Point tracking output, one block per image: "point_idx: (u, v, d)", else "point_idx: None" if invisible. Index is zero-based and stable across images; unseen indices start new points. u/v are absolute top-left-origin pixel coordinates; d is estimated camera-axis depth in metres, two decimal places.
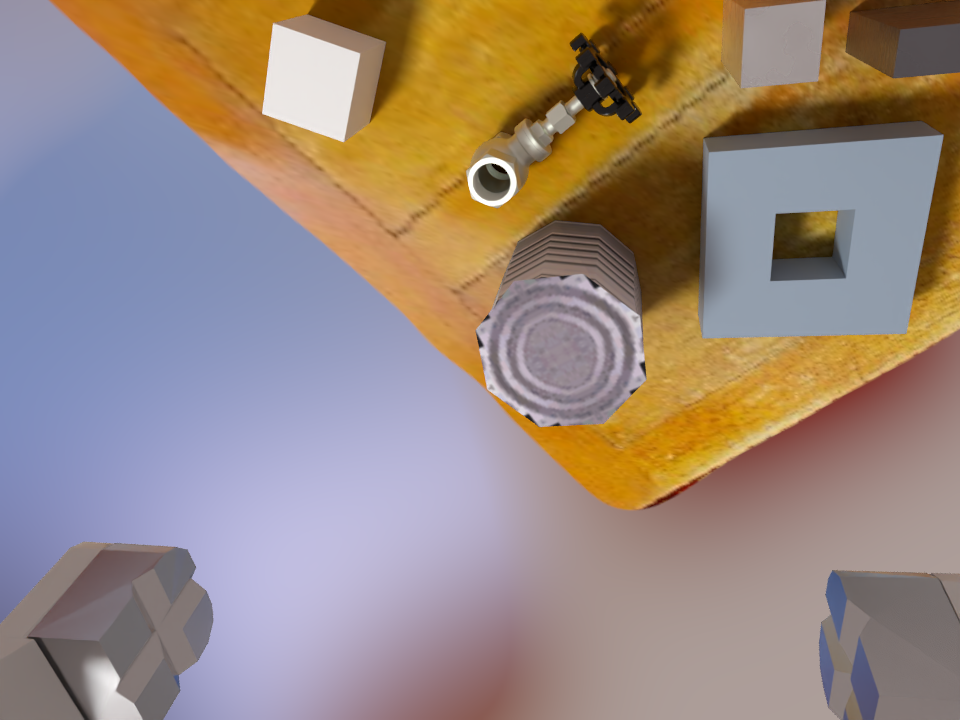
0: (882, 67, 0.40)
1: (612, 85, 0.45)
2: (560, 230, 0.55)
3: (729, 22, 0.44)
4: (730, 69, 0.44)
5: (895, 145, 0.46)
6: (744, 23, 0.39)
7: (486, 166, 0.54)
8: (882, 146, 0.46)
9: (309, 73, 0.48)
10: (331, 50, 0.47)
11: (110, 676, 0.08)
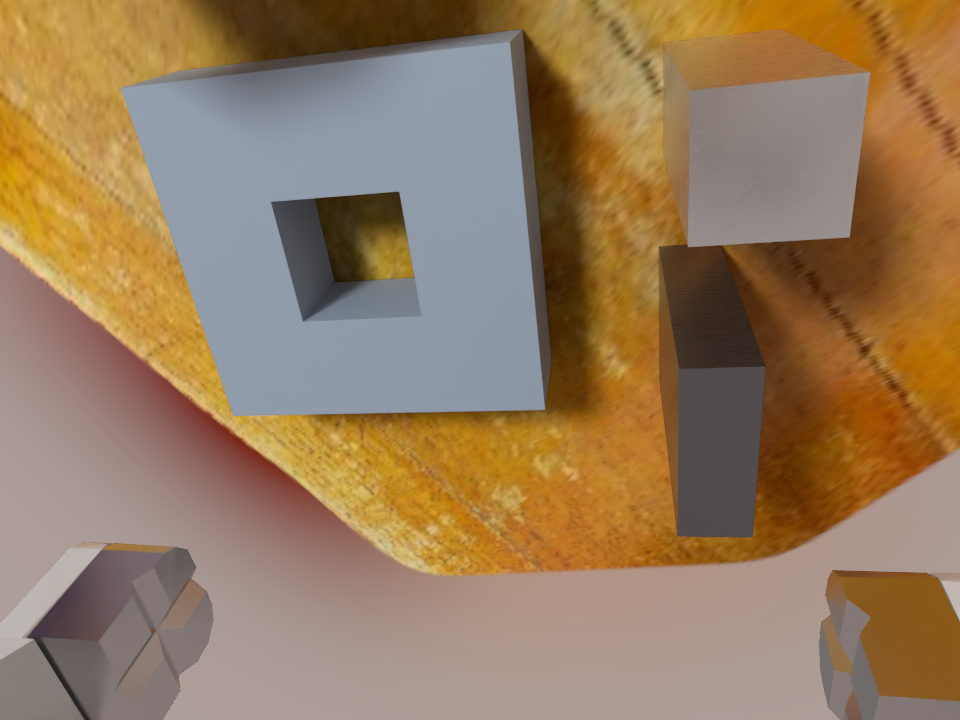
0: (681, 336, 0.23)
1: None
2: None
3: (762, 45, 0.22)
4: (683, 61, 0.22)
5: (529, 353, 0.29)
6: (836, 76, 0.17)
7: None
8: (525, 337, 0.28)
9: None
10: None
11: (110, 676, 0.08)
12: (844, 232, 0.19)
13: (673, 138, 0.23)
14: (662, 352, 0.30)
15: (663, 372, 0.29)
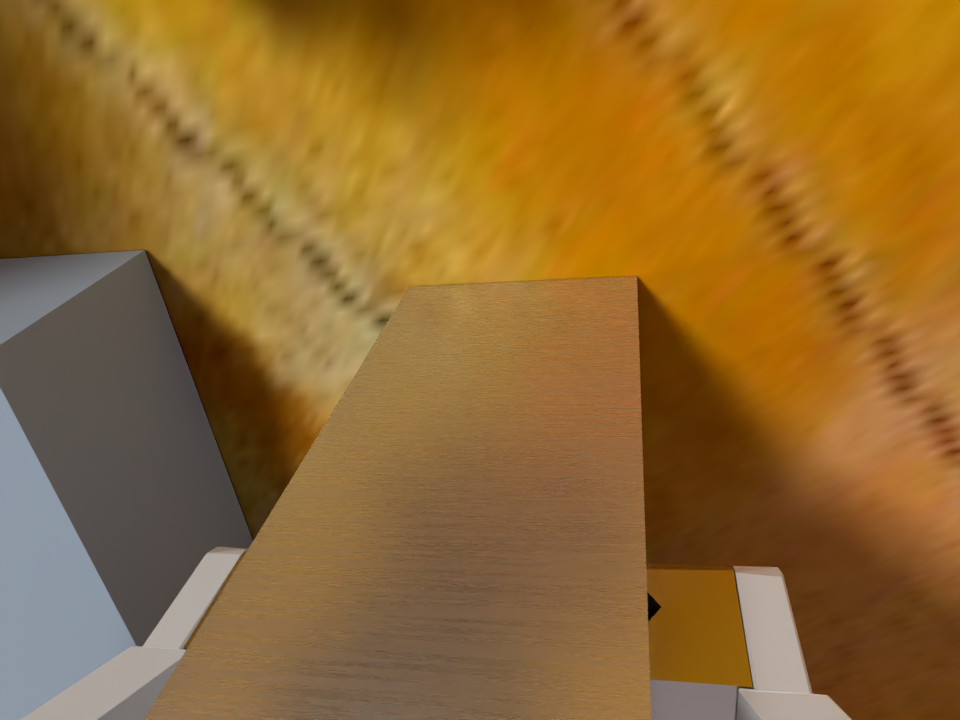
0: None
1: None
2: None
3: (540, 393, 0.09)
4: (318, 466, 0.09)
5: None
6: None
7: None
8: None
9: None
10: None
11: None
12: None
13: None
14: None
15: None
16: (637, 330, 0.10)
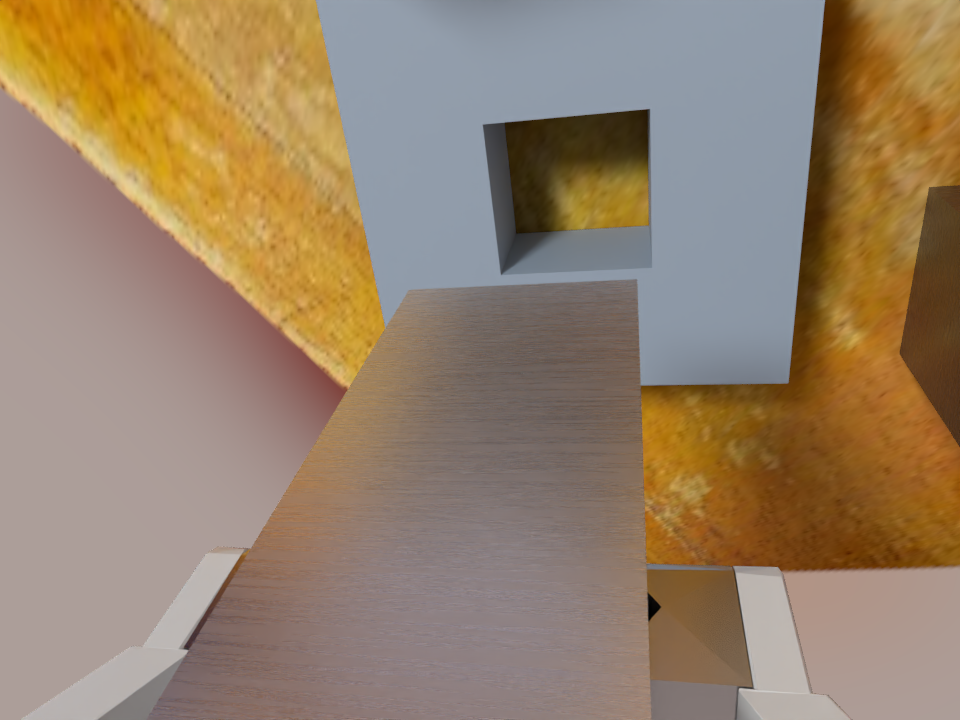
0: None
1: None
2: None
3: (540, 397, 0.09)
4: (318, 470, 0.09)
5: (781, 313, 0.24)
6: None
7: None
8: (781, 293, 0.23)
9: None
10: None
11: None
12: None
13: None
14: (932, 315, 0.25)
15: (936, 339, 0.24)
16: (637, 333, 0.10)
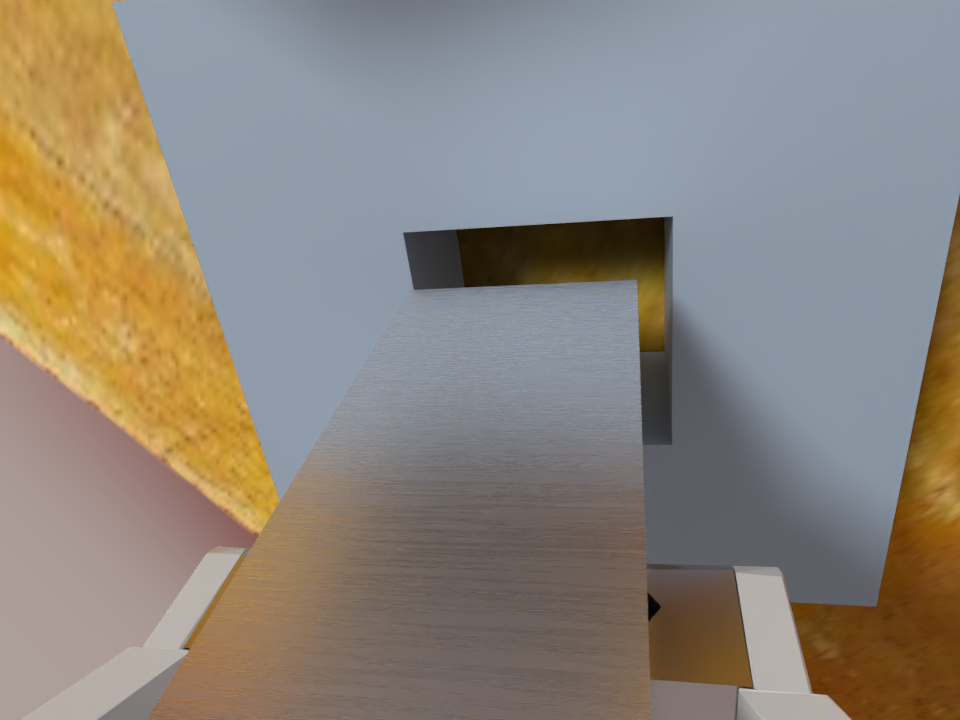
0: None
1: None
2: None
3: (540, 397, 0.09)
4: (318, 471, 0.09)
5: (872, 516, 0.15)
6: None
7: None
8: (874, 489, 0.15)
9: None
10: None
11: None
12: None
13: None
14: None
15: None
16: (637, 334, 0.10)
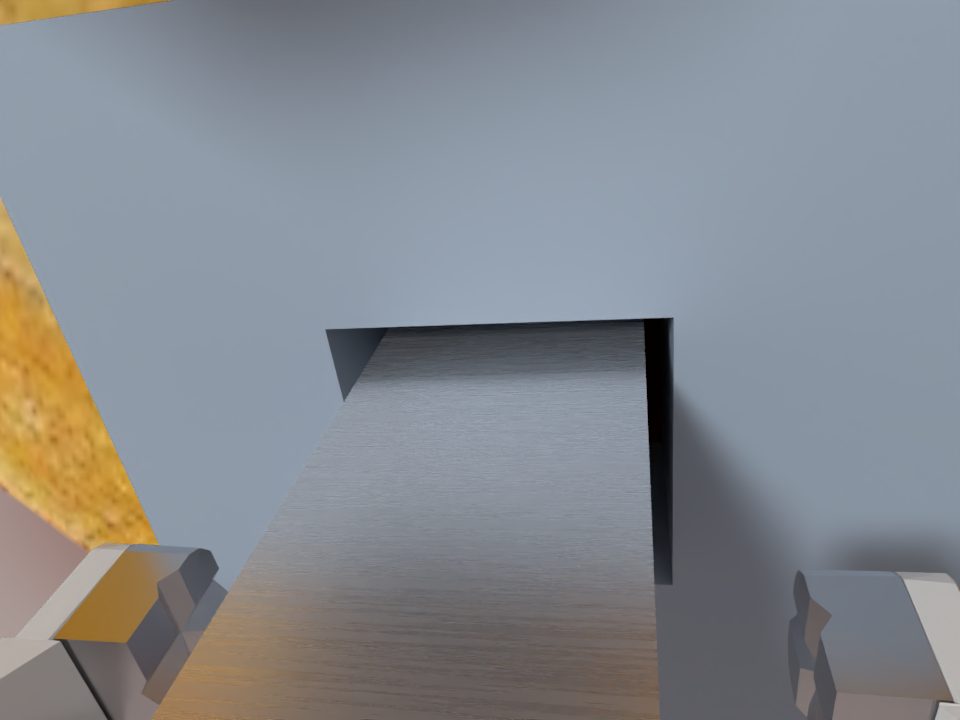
0: None
1: None
2: None
3: (555, 337, 0.11)
4: (363, 398, 0.10)
5: None
6: None
7: None
8: None
9: None
10: None
11: (136, 678, 0.08)
12: None
13: None
14: None
15: None
16: None
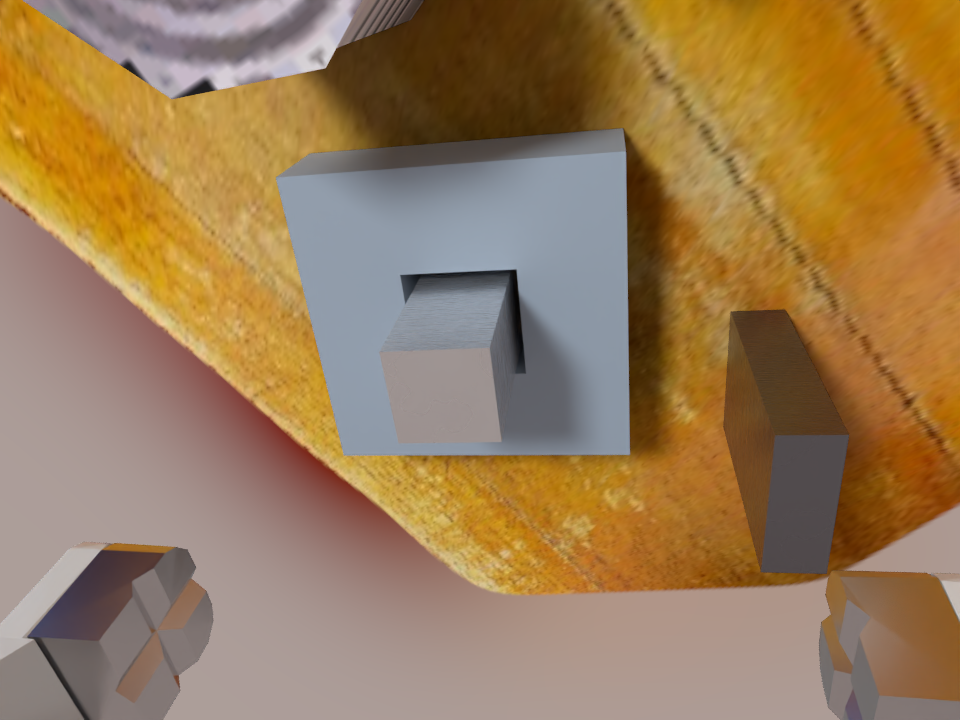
0: (770, 403, 0.27)
1: None
2: None
3: (480, 277, 0.31)
4: (415, 295, 0.30)
5: (619, 406, 0.33)
6: (469, 348, 0.25)
7: None
8: (618, 393, 0.32)
9: None
10: None
11: (110, 676, 0.08)
12: (497, 439, 0.27)
13: None
14: (733, 404, 0.34)
15: (734, 422, 0.33)
16: None
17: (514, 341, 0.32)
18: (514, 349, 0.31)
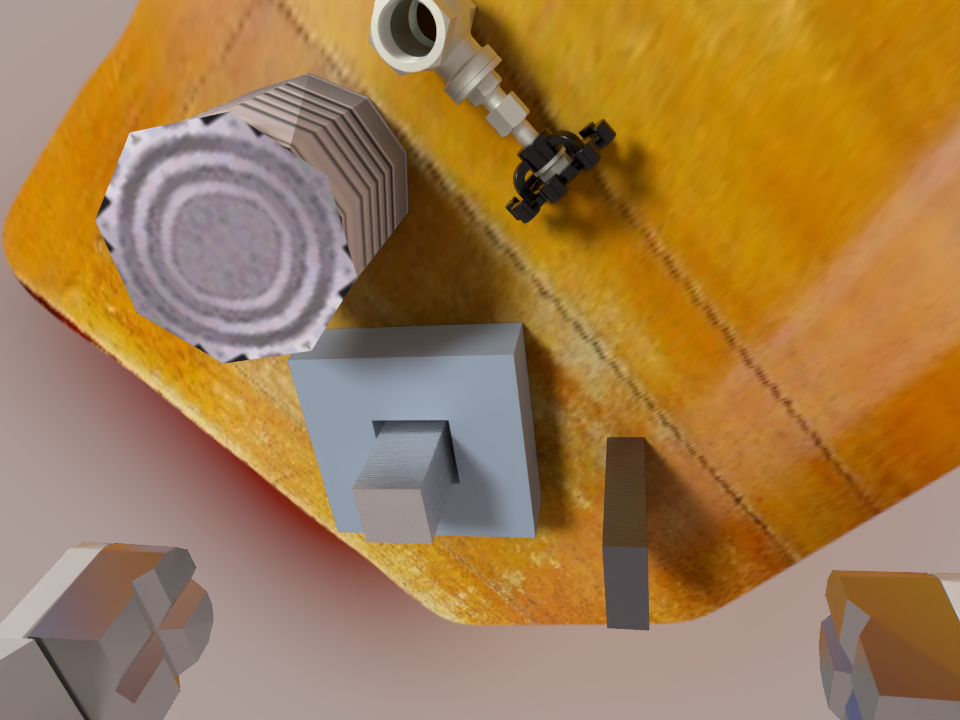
0: (607, 520, 0.41)
1: (556, 200, 0.34)
2: (397, 171, 0.39)
3: (425, 422, 0.45)
4: (381, 437, 0.45)
5: (525, 506, 0.47)
6: (408, 489, 0.40)
7: None
8: (523, 498, 0.46)
9: None
10: None
11: (110, 676, 0.08)
12: (429, 541, 0.42)
13: None
14: None
15: None
16: None
17: (450, 464, 0.46)
18: (450, 469, 0.46)
